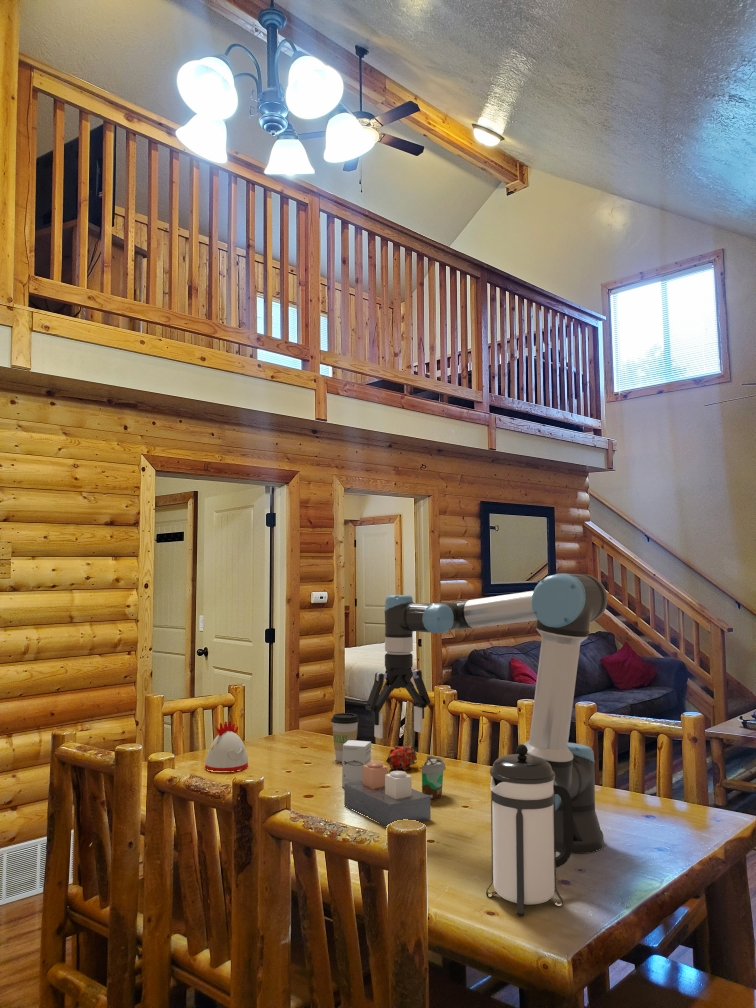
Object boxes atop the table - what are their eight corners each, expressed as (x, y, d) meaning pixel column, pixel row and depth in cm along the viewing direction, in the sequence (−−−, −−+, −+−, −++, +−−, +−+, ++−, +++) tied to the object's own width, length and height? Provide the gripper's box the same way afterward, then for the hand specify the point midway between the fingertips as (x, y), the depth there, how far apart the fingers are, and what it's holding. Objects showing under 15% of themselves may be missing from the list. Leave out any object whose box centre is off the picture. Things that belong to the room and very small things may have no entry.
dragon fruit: (419, 772, 240) (389, 782, 234) (406, 752, 246) (376, 762, 240) (425, 754, 236) (395, 765, 230) (412, 735, 242) (382, 744, 236)
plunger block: (430, 819, 189) (430, 796, 189) (389, 829, 182) (390, 804, 182) (382, 798, 207) (383, 776, 208) (344, 806, 200) (344, 783, 200)
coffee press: (563, 925, 132) (560, 757, 135) (478, 910, 138) (476, 749, 141) (574, 887, 148) (571, 737, 151) (497, 875, 154) (495, 731, 157)
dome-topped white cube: (411, 799, 190) (411, 773, 190) (395, 803, 187) (396, 776, 187) (400, 794, 194) (400, 769, 194) (384, 798, 191) (385, 772, 192)
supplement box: (341, 787, 217) (341, 744, 218) (348, 781, 224) (348, 739, 225) (365, 789, 215) (365, 746, 216) (371, 782, 222) (371, 740, 224)
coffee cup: (327, 757, 253) (328, 713, 255) (354, 755, 256) (354, 712, 258) (334, 764, 244) (334, 718, 245) (362, 762, 247) (362, 717, 248)
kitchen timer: (197, 766, 240) (198, 720, 241) (233, 760, 249) (234, 715, 251) (219, 775, 230) (220, 727, 231) (255, 768, 239) (256, 721, 240)
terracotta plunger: (387, 789, 199) (387, 764, 199) (372, 792, 196) (372, 767, 196) (377, 784, 203) (377, 760, 203) (362, 787, 200) (362, 763, 201)
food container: (443, 803, 202) (443, 767, 203) (421, 802, 203) (421, 765, 204) (447, 791, 214) (447, 756, 215) (427, 789, 215) (427, 755, 216)
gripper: (426, 649, 204) (426, 726, 202) (352, 654, 191) (352, 737, 189) (443, 651, 198) (443, 731, 196) (368, 656, 185) (367, 743, 182)
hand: (398, 734), depth 192 cm, fingers open, 12 cm apart
